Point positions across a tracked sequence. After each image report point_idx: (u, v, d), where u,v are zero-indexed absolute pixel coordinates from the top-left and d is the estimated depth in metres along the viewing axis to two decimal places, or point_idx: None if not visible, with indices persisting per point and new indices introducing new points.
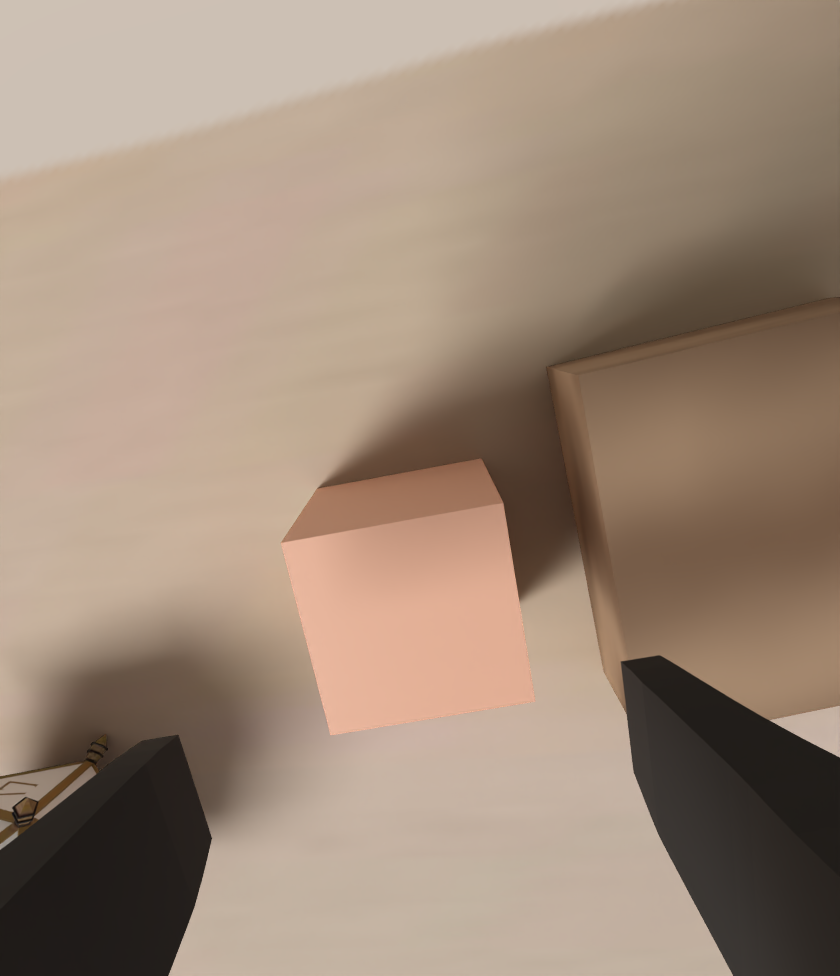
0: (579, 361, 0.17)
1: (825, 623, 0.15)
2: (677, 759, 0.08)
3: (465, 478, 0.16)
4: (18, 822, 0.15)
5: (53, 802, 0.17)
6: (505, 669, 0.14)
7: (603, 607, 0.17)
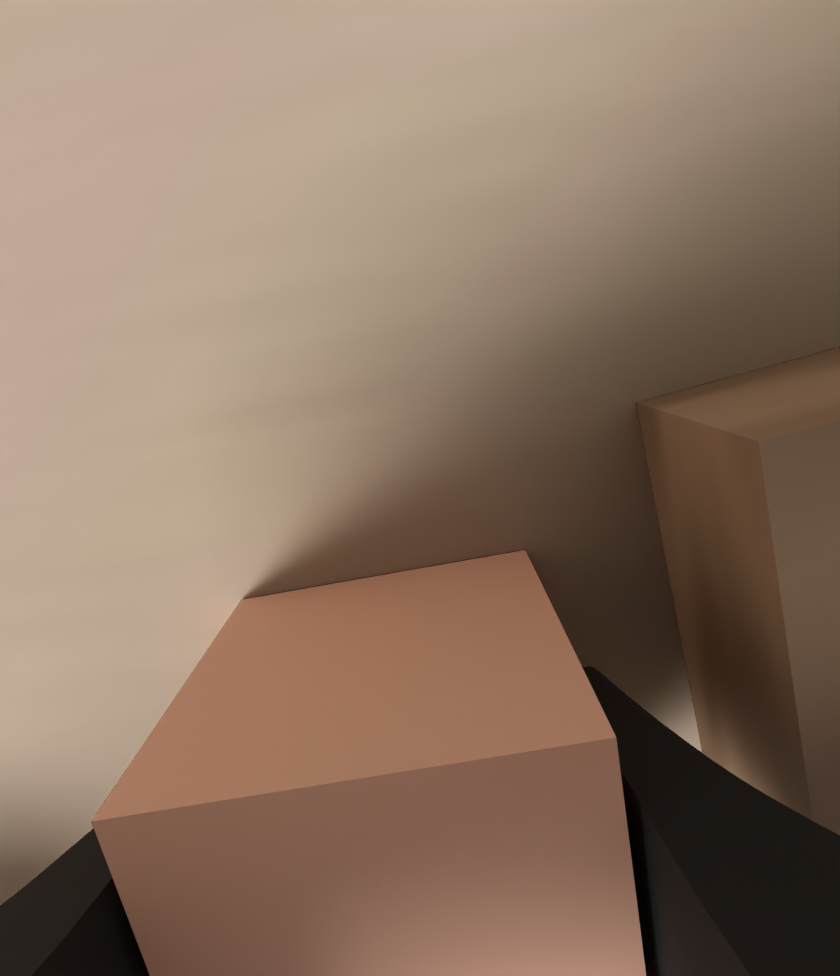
0: (704, 393, 0.09)
1: None
2: None
3: (505, 612, 0.08)
4: None
5: None
6: None
7: None
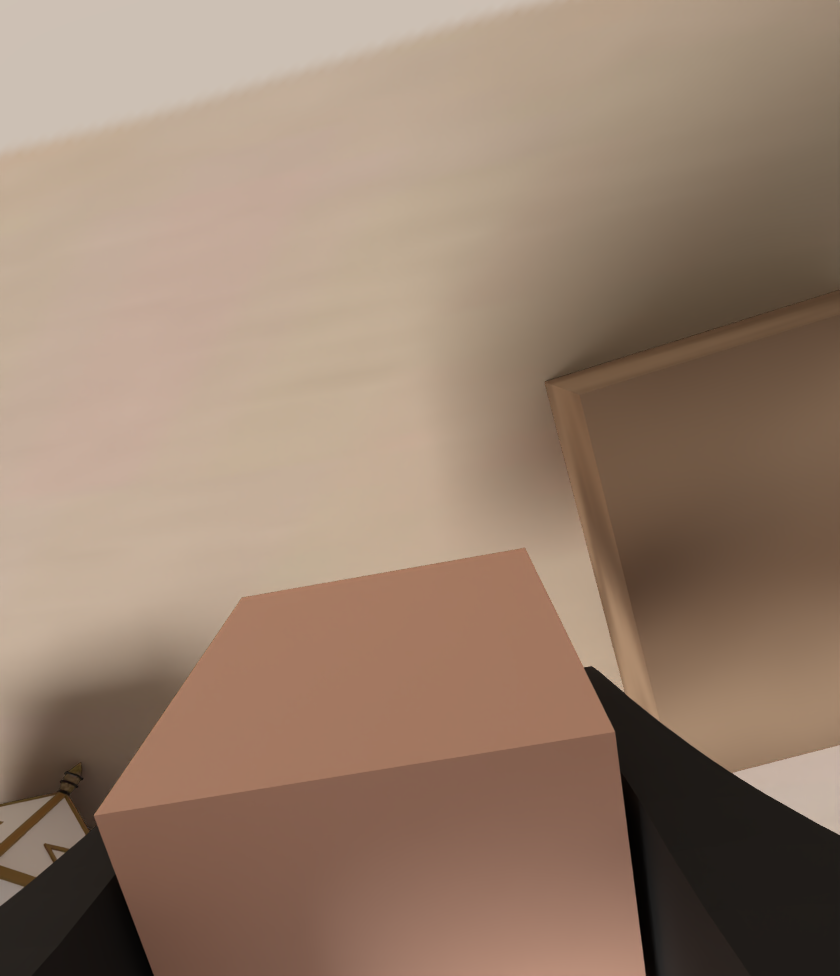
0: (579, 374, 0.15)
1: None
2: None
3: (505, 610, 0.08)
4: None
5: (19, 843, 0.16)
6: None
7: (622, 637, 0.16)
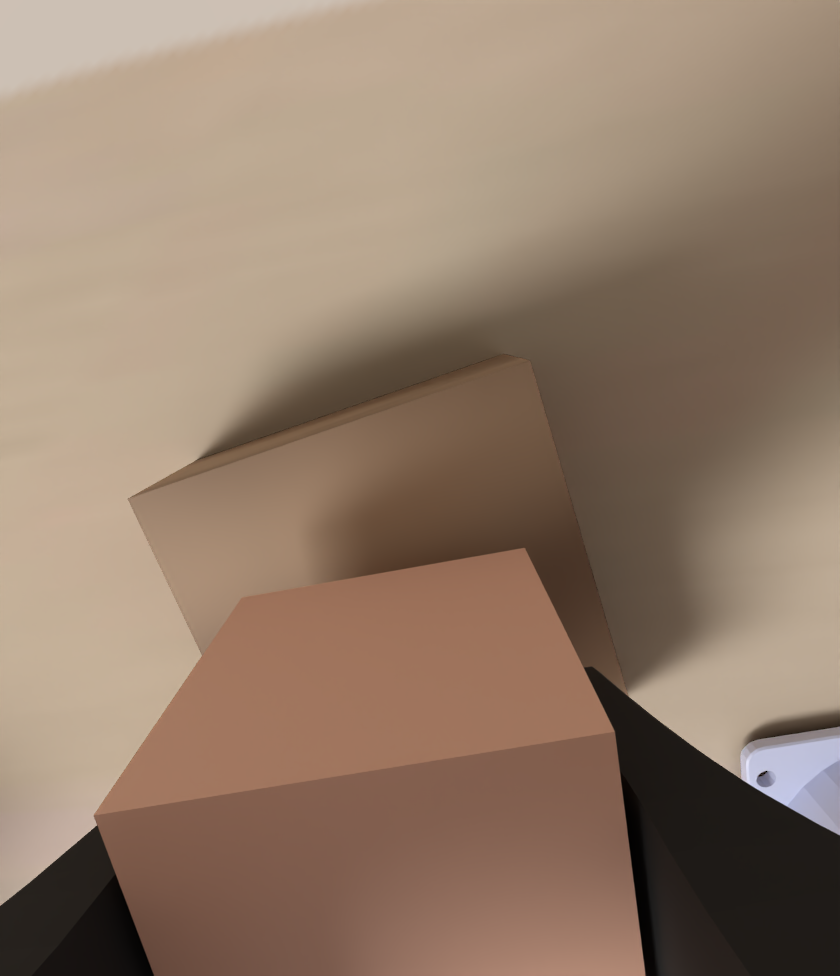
0: (215, 456, 0.14)
1: None
2: None
3: (505, 609, 0.08)
4: None
5: None
6: None
7: None
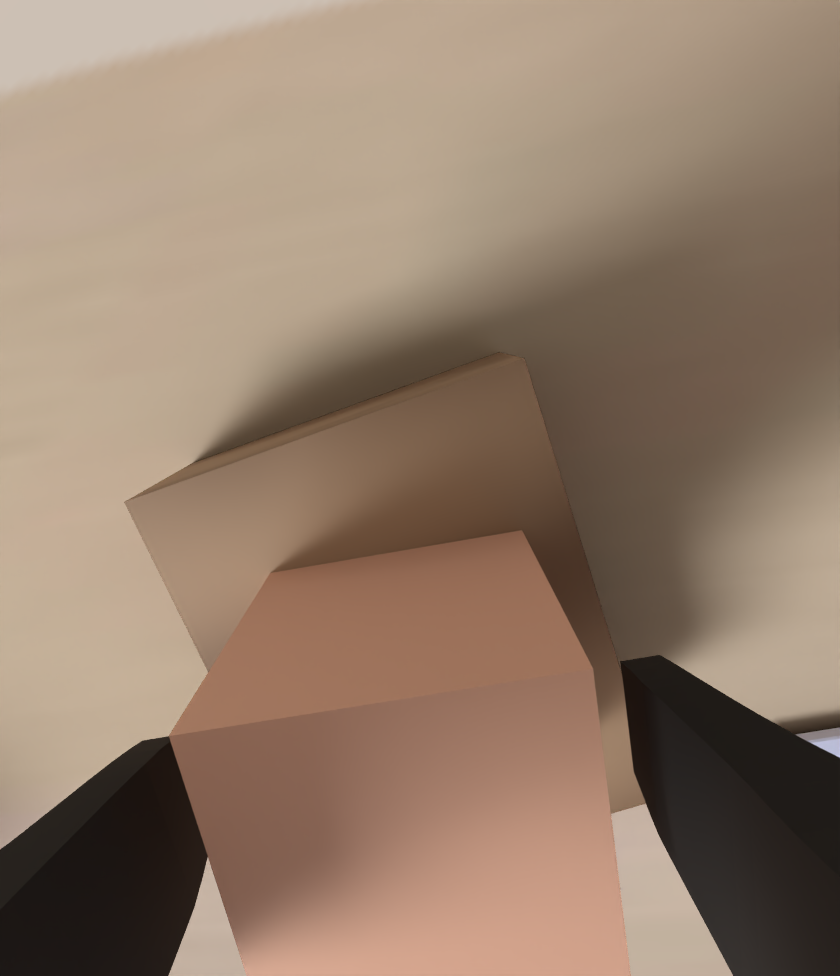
0: (212, 458, 0.14)
1: None
2: (677, 759, 0.08)
3: (504, 580, 0.10)
4: None
5: None
6: (582, 948, 0.08)
7: None
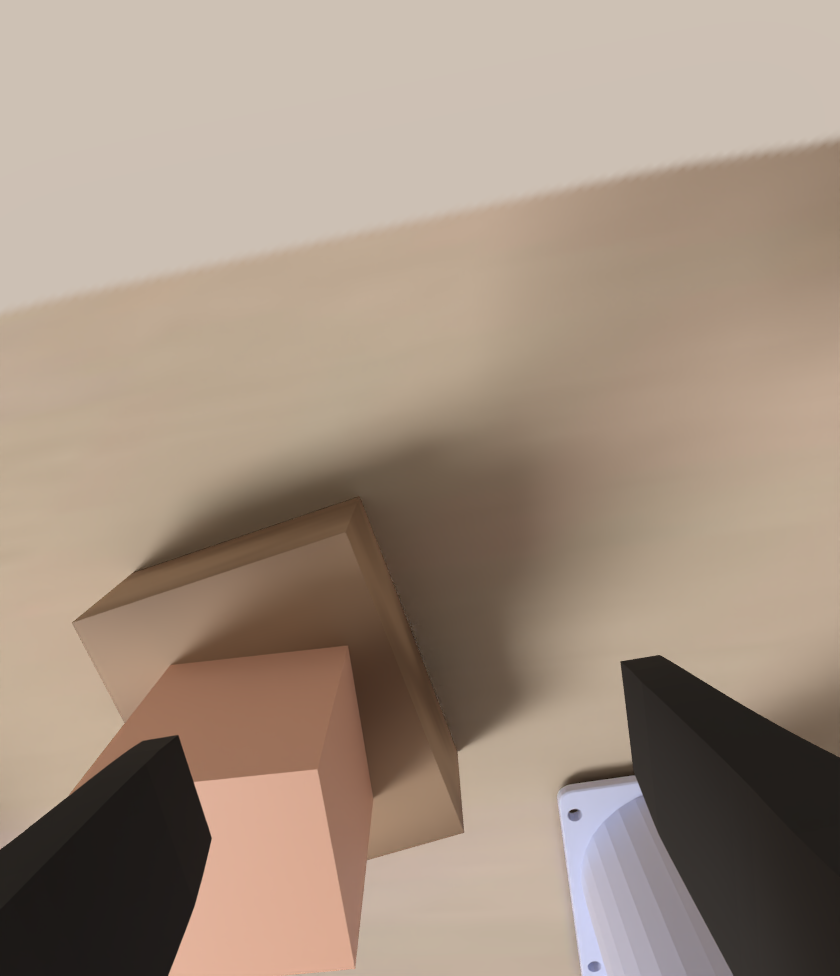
0: (145, 573, 0.19)
1: None
2: (677, 760, 0.08)
3: (311, 692, 0.15)
4: None
5: None
6: (321, 935, 0.13)
7: None
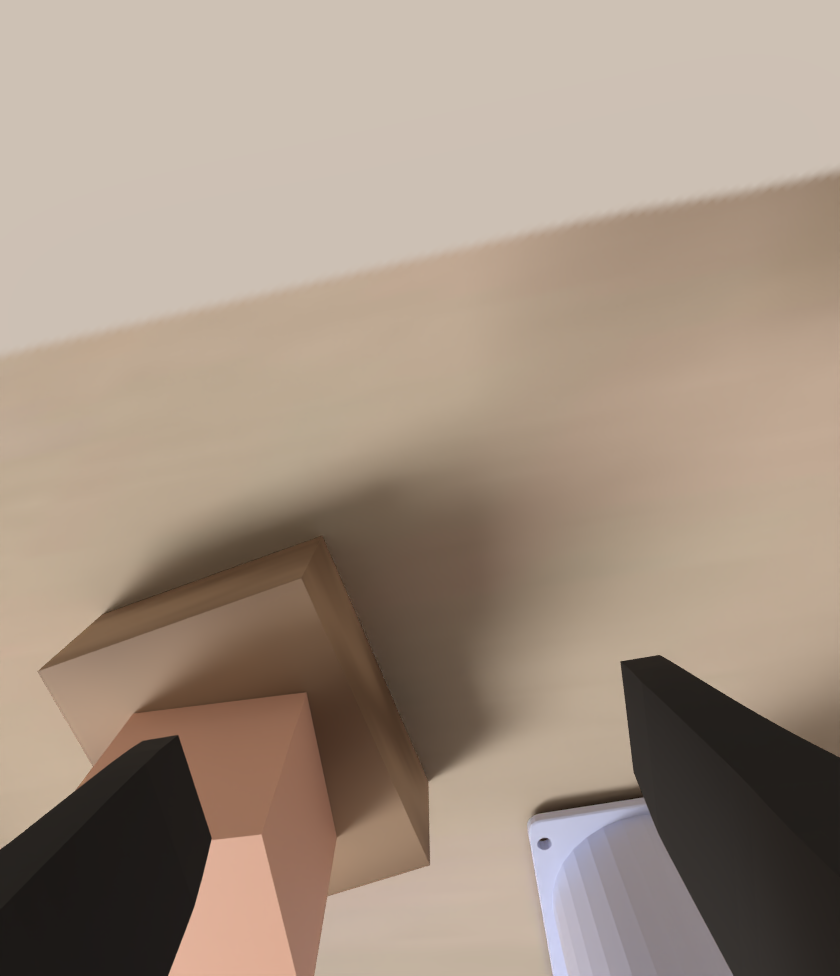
0: (113, 615, 0.20)
1: None
2: (677, 759, 0.08)
3: (265, 746, 0.15)
4: None
5: None
6: None
7: None
